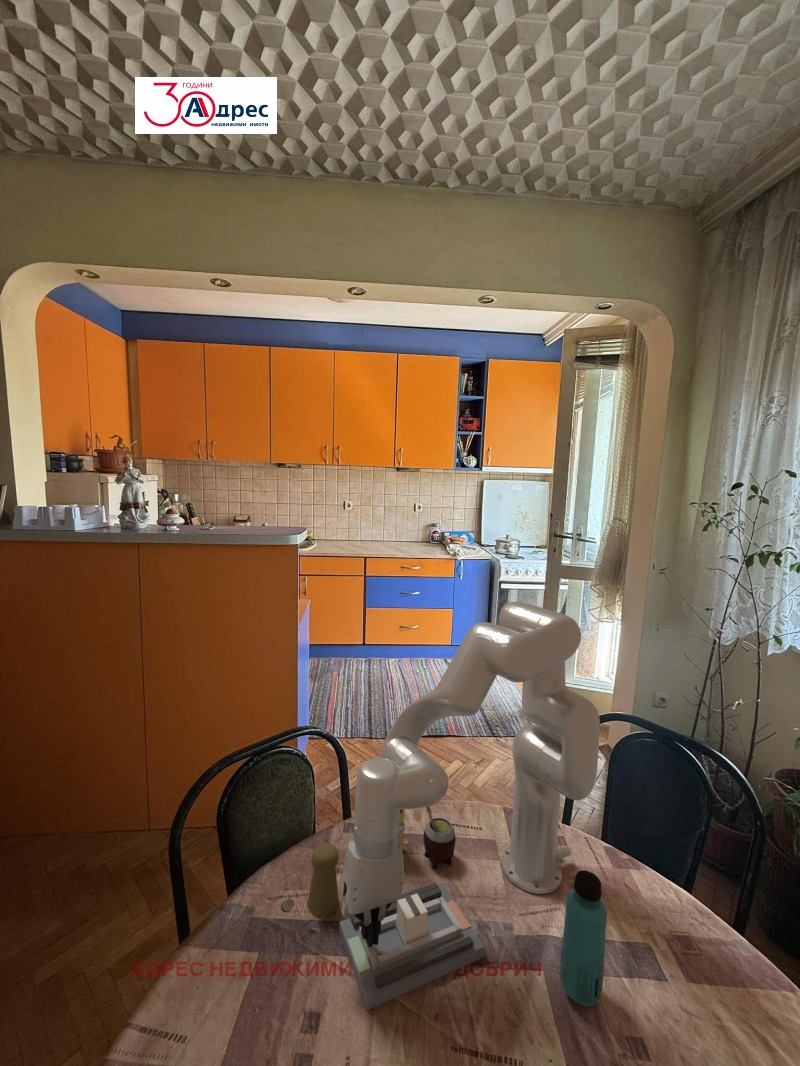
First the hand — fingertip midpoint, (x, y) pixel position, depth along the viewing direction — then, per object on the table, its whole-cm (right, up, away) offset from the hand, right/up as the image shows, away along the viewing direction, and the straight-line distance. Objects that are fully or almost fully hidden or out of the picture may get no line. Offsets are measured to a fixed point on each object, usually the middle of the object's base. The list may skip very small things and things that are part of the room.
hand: (370, 938), depth 78 cm
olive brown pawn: (-10, -3, +11) cm, 15 cm away
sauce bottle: (+2, -3, +25) cm, 25 cm away
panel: (+7, -4, +4) cm, 9 cm away
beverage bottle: (+34, -6, -3) cm, 35 cm away
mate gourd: (+13, -4, +23) cm, 27 cm away
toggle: (+7, -2, +3) cm, 8 cm away
